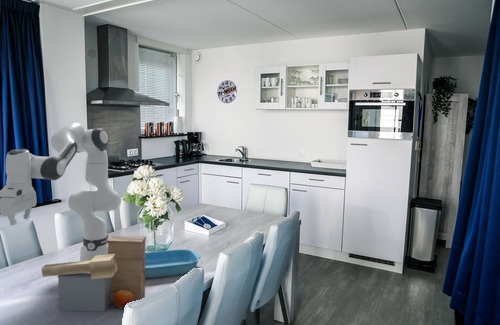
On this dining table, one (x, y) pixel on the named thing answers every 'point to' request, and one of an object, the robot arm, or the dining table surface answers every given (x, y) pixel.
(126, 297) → the fruit
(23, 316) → the dining table surface
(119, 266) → the shelf block
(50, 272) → the mallet
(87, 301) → the storage box
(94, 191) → the robot arm
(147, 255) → the casserole dish
